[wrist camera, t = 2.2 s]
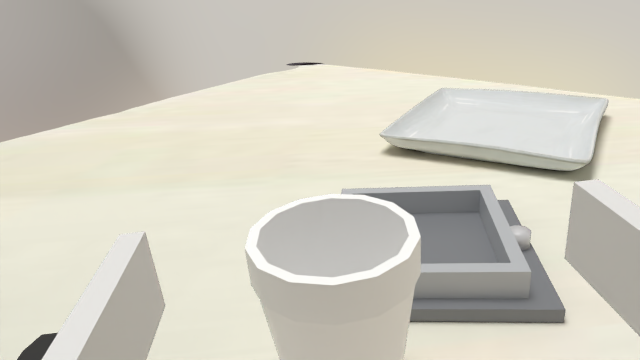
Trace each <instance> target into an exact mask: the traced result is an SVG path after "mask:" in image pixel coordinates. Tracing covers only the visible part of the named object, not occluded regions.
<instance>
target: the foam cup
mask: <svg viewBox="0 0 640 360" xmlns="http://www.w3.org/2000/svg"><path fill="white" fill-rule="evenodd" d="M245 253H246V258H247V264H248V270H249V276H250V282H251V286H252V287H253V289H254V291H255V292H256V294H257V296H258V297H259V299H260V302H261V305H262V308H263V311H264V314H265V317H266V320H267V323H268V326H269V329H270V332H271V335H272V338H273V341H274V344H275V347H276V350H277V353H278V356H279V359H280V360H404V354H405V347H406V341H407V334H408V328H409V321H410V315H411V309H412V302H413V296H414V289H415V284H416V282H417V280H418V278H419V276H420V274H421V236H420V233H419V230H418V227H417V224H416V221H415V219H414V217H413V216H412V215H410V214H409V213H408V212H406V211H405V210H403V209H402V208H400V207H399V206H397V205H396V204H394V203H393V202H389V201H385V200H381V199H378V198H374V197H370V196H366V195H352V194H327V195H321V196H316V197H310V198H304V199H298V200H296V201H293V202H291V203H289V204H286V205H284V206H281V207H279V208H277V209H274V210H272V211H269V212H268V213H267V214H266V215H265V216H264V217H263V218H261V219H260V220H259V221H258V222H257V223H256V224H255V225H253V226H252V227H251V228H250V231H249V235H248V238H247V242H246V246H245Z"/></svg>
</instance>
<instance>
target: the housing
mask: <svg viewBox="0 0 640 360" xmlns="http://www.w3.org/2000/svg"><path fill="white" fill-rule="evenodd" d="M341 194H352V195H366V196H370V197H374V198H378V199H381V200H385V201H389V202H393V203H394V204H396V205H397V206H399V207H400V208H402V209H403V210H405V211H406V212H408V213H409V214H410V215H412V216H413V217H414V219H415V221H416V224H417V227H418V230H419V233H420V236H421V274H420V276H419V278H418V280H417V282H416V284H415V289H414V296H413V302H412V309H411V315H410V321H449V322H564V316H565V308H564V306H563V304H562V302H561V300H560V298H559V296H558V294H557V292H556V291H555V289H554V287H553V285H552V283H551V281H550V279H549V277H548V275H547V273H546V271H545V270H544V268H543V266H542V264H541V262H540V260H539V258H538V256H537V254H536V252H535V250H534V249H533V247H532V245H531V243H530V239H531V230H530V229H529V228H527V227H525V226H521V224H520V222H519V220H518V218H517V216H516V214H515V212H514V210H513V208H512V206H511V205H510V203H509V201H508V200H497V199H496V197H495V195H494V192H493V190H492V188H491V186H490V185H465V186H430V187H395V188H360V189H342V193H341Z"/></svg>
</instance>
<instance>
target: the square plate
mask: <svg viewBox="0 0 640 360" xmlns="http://www.w3.org/2000/svg"><path fill="white" fill-rule="evenodd" d="M607 106H608V99H605V98H595V97H584V96H573V95H563V94H552V93H541V92H527V91H510V90H489V89H459V88H441V89H439V90H437V91H436V92H434V93H433V94H431V95H430V96H428V97H427V98H426V99H424V100H423V101H421V102H420V103H419V104H417V105H416V106H414V107H413V108H412V109H410V110H409V111H408V112H406V113H405V114H404V115H402V116H401V117H400V118H399V119H397V120H396V121H395V122H393V123H392V124H391V125H389V126H388V127H387V128H386V129H384V130H383V131H382V132H381V133H380V136H381V137H382V138H384V139H385V140H386V141H387V142H389V143H390V144H392V145H394V146H397V147H401V148H407V149H413V150H420V151H423V152H426V153H431V154H438V155H446V156H453V157H460V158H468V159H475V160H483V161H490V162H498V163H505V164H512V165H519V166H526V167H536V168H544V169H552V170H562V171H571V170H576V169H579V168H581V167H583V166H585V165H587V164H589V163H590V161H591V159H592V157H593V154H594V148H595V143H596V137H597V132H598V128H599V125H600V122H601V119H602V117H603V115H604V112H605V110H606V108H607Z"/></svg>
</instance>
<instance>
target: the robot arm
mask: <svg viewBox="0 0 640 360" xmlns="http://www.w3.org/2000/svg"><path fill="white" fill-rule="evenodd" d="M565 259H566V260H567V261H568V262H569V263H570V264H571V265H572V266H573V268H574V269H575V270H576V271H577V272H578V273H579V274H580V275H581V276H582V277H583V278H584V279H585V280H586V281H587V282H588V283H589V284H590V285H591V286H592V287H593V288H594V289H595V290H596V291H597V292H598V293H599V295H600V296H601V297H602V298H603V299H604V300H605V301H606V302H607V303H608V304H609V305H610V306H611V307H612V308H613V309H614V310H615V311H616V312H617V313H618V314H619V315H620V316H621V317H622V318H623V319H624V320H625V322H626V323H627V324H628V325H629V326H630V327H631V328H632V329H633V330H634V331H635V332H636V333H637V334H638V335H639V336H640V207H639V206H638V205H636V204H635V203H633V202H632V201H630V200H629V199H627V198H626V197H624V196H623V195H621V194H620V193H618V192H617V191H615V190H614V189H612V188H611V187H609V186H608V185H607V184H605V183H604V182H602V181H601V180H599V179H595V180H587V181H578V182H574V186H573V194H572V202H571V210H570V218H569V226H568V235H567V243H566V251H565ZM164 308H165V303H164V299H163V295H162V292H161V288H160V284H159V281H158V277H157V273H156V270H155V266H154V262H153V259H152V255H151V251H150V248H149V244H148V240H147V237H146V233H145V231H144V232H135V233H127V234H119V236H118V238H117V239H116V241H115V242H114V244H113V246H112V247H111V249H110V250H109V252H108V254H107V255H106V257H105V258H104V260H103V262H102V263H101V265H100V266H99V268H98V270H97V271H96V273H95V274H94V276H93V278H92V279H91V281H90V282H89V284H88V286H87V287H86V289H85V291H84V292H83V294H82V295H81V297H80V299H79V300H78V302H77V303H76V305H75V307H74V308H73V310H72V311H71V313H70V315H69V316H68V318H67V319H66V321H65V323H64V324H63V326H62V327H61V329H60V331H59V332H58V333H52V334H44V335H41V336H40V337H39V338H38V339H36V340H35V341H34V342H33V343H32V344H31V345H29V346H28V347H27V348H26V349H25V350H24V351H23V352H22V353H21V355H20V356H19V358H18V359H17V360H146V359H147V356H148V353H149V350H150V347H151V345H152V342H153V339H154V336H155V333H156V330H157V328H158V325H159V322H160V319H161V316H162V314H163V311H164Z"/></svg>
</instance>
